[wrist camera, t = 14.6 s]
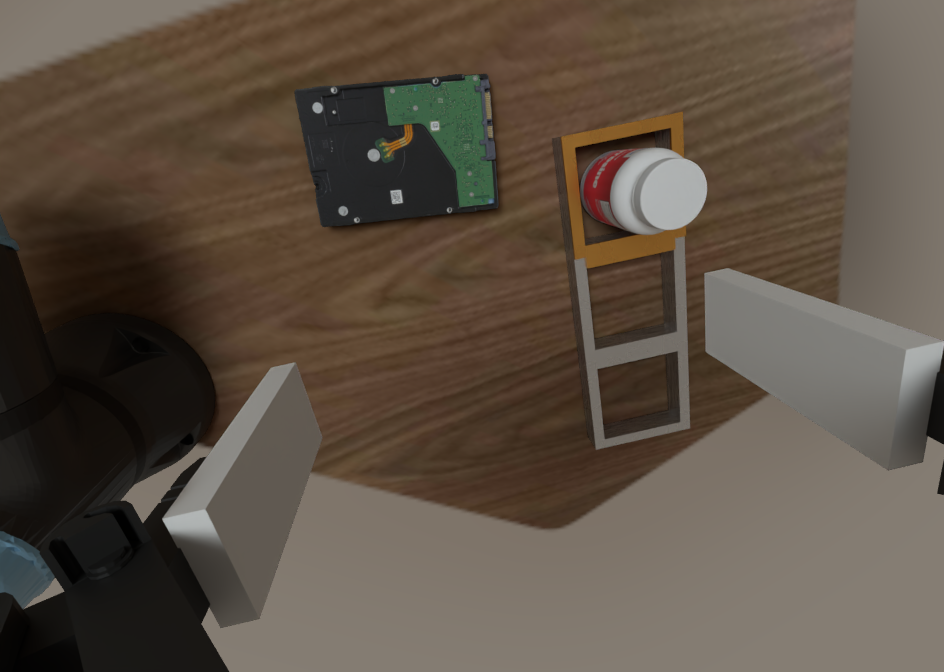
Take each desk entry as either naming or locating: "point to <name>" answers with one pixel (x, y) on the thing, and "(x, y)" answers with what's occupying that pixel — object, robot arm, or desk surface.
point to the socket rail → (616, 249)
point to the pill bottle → (643, 190)
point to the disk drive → (400, 148)
